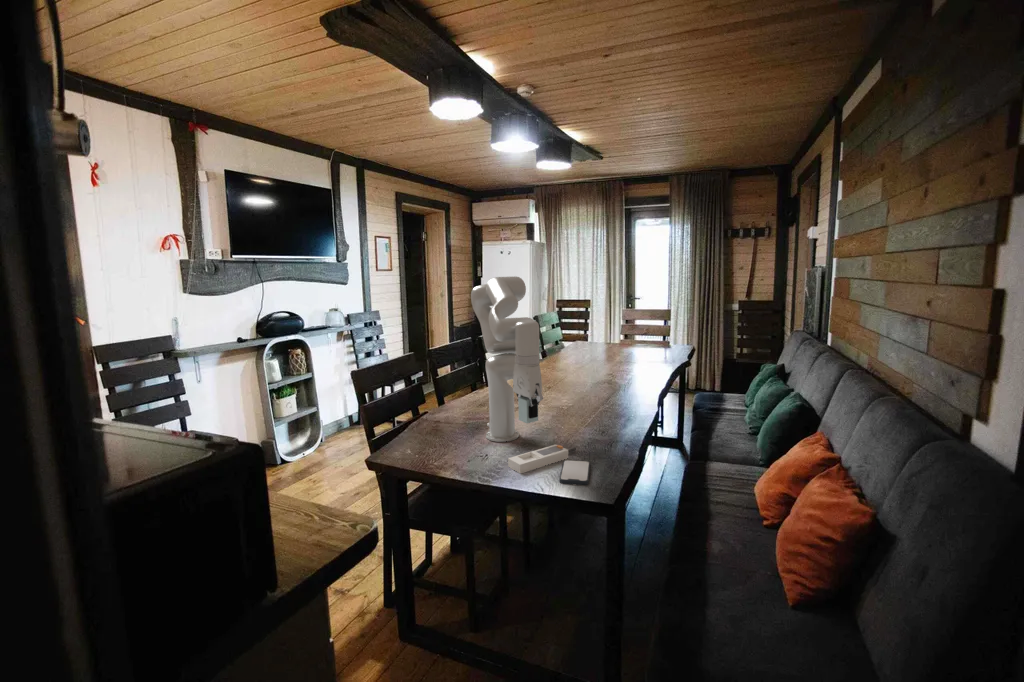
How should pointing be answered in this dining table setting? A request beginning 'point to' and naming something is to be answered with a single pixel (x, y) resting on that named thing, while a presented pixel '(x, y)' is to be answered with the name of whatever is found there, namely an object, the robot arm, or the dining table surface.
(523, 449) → the dining table surface
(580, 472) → the smartphone
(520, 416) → the block
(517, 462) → the power strip
